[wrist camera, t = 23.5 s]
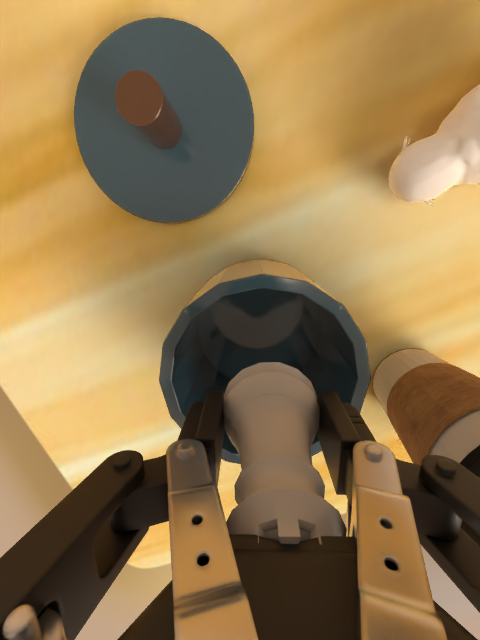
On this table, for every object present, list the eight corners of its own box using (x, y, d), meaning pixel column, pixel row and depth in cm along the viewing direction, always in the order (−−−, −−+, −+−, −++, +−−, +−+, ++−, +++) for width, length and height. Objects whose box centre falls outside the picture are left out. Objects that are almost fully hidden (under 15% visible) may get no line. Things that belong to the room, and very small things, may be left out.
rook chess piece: (216, 432, 16) (184, 626, 8) (230, 349, 14) (208, 486, 7) (304, 446, 16) (356, 653, 8) (325, 366, 14) (412, 519, 7)
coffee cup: (371, 433, 29) (495, 639, 14) (346, 352, 26) (462, 497, 12) (464, 406, 28) (701, 598, 13) (446, 320, 25) (704, 435, 11)
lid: (46, 111, 22) (-27, 68, 16) (181, -19, 20) (152, -124, 14) (156, 255, 25) (127, 263, 19) (287, 153, 22) (300, 126, 17)
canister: (163, 311, 26) (117, 355, 17) (278, 229, 24) (295, 228, 15) (242, 411, 28) (239, 496, 19) (352, 344, 26) (407, 404, 17)
